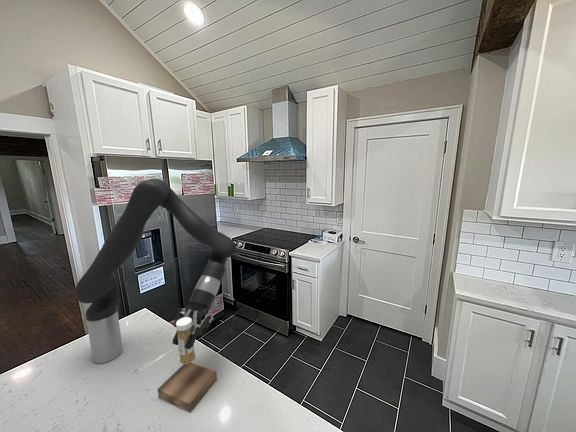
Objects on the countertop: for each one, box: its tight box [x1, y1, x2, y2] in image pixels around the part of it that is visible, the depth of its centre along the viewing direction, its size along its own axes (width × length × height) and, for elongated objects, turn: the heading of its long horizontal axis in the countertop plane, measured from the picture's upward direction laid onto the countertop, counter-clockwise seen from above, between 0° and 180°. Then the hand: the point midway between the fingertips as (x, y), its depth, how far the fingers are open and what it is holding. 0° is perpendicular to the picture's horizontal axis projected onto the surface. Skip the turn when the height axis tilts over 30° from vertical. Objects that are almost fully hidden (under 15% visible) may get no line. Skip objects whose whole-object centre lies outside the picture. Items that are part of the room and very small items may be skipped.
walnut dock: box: [157, 362, 218, 413], centre depth 75 cm, size 13×12×3 cm
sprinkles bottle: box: [175, 317, 196, 365], centre depth 73 cm, size 5×5×14 cm
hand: (181, 346), depth 71 cm, fingers closed on sprinkles bottle, 4 cm apart
